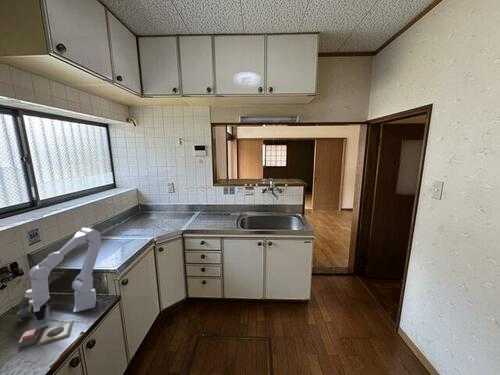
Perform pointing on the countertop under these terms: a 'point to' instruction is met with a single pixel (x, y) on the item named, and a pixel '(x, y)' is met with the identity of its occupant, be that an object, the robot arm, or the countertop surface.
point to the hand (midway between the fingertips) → (42, 316)
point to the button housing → (29, 340)
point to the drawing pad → (54, 333)
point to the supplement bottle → (29, 296)
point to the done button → (29, 334)
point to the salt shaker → (24, 310)
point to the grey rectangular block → (44, 317)
